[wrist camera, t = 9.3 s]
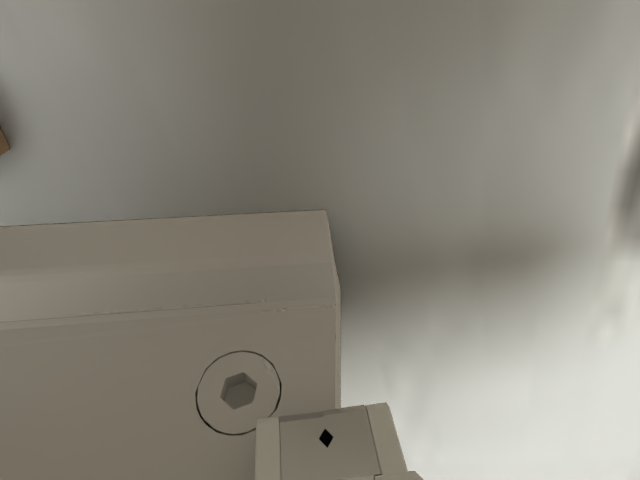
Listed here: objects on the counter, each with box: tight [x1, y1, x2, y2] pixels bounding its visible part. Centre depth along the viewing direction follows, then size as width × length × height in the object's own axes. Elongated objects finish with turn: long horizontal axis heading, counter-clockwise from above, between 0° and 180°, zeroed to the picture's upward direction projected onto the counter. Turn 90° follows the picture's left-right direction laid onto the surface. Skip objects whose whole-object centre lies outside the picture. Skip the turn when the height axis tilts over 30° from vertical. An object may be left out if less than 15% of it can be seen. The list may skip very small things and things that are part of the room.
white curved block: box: [0, 210, 341, 480], centre depth 12 cm, size 17×5×10 cm, turn 90°
